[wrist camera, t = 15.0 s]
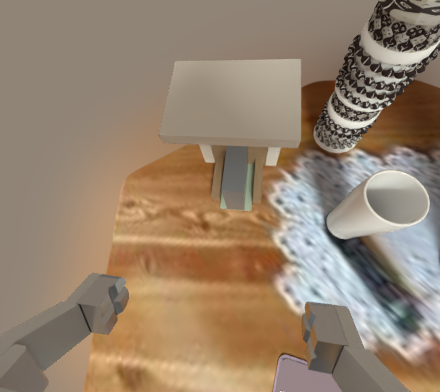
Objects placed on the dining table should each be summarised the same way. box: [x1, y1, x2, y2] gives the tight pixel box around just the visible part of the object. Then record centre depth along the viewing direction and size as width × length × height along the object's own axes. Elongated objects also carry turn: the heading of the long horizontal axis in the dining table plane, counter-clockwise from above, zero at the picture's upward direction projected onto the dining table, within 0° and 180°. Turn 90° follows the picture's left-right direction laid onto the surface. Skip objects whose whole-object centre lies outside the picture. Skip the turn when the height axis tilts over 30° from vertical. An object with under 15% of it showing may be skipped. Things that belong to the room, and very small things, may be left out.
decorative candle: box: [313, 0, 440, 153], centre depth 32 cm, size 9×9×25 cm
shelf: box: [159, 59, 301, 211], centre depth 33 cm, size 12×14×22 cm
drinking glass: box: [327, 170, 430, 239], centre depth 31 cm, size 7×7×15 cm
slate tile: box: [221, 146, 248, 210], centre depth 38 cm, size 9×3×10 cm, turn 173°
